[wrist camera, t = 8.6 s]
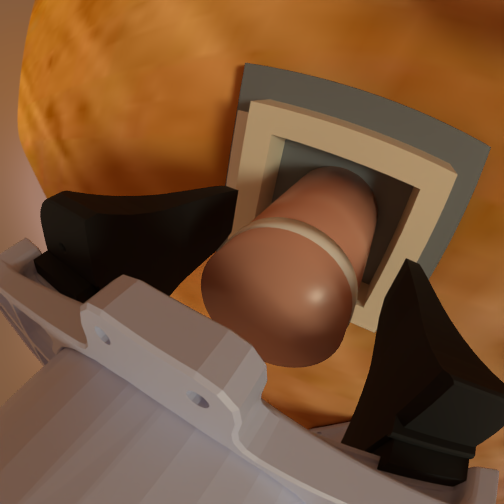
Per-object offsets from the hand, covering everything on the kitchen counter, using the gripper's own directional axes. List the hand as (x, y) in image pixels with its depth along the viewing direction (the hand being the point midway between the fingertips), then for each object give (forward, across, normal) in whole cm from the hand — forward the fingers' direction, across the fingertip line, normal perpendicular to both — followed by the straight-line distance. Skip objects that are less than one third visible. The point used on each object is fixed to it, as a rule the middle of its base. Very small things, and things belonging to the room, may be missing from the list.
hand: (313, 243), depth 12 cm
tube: (+4, 0, 0) cm, 4 cm away
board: (+4, 0, 0) cm, 4 cm away
